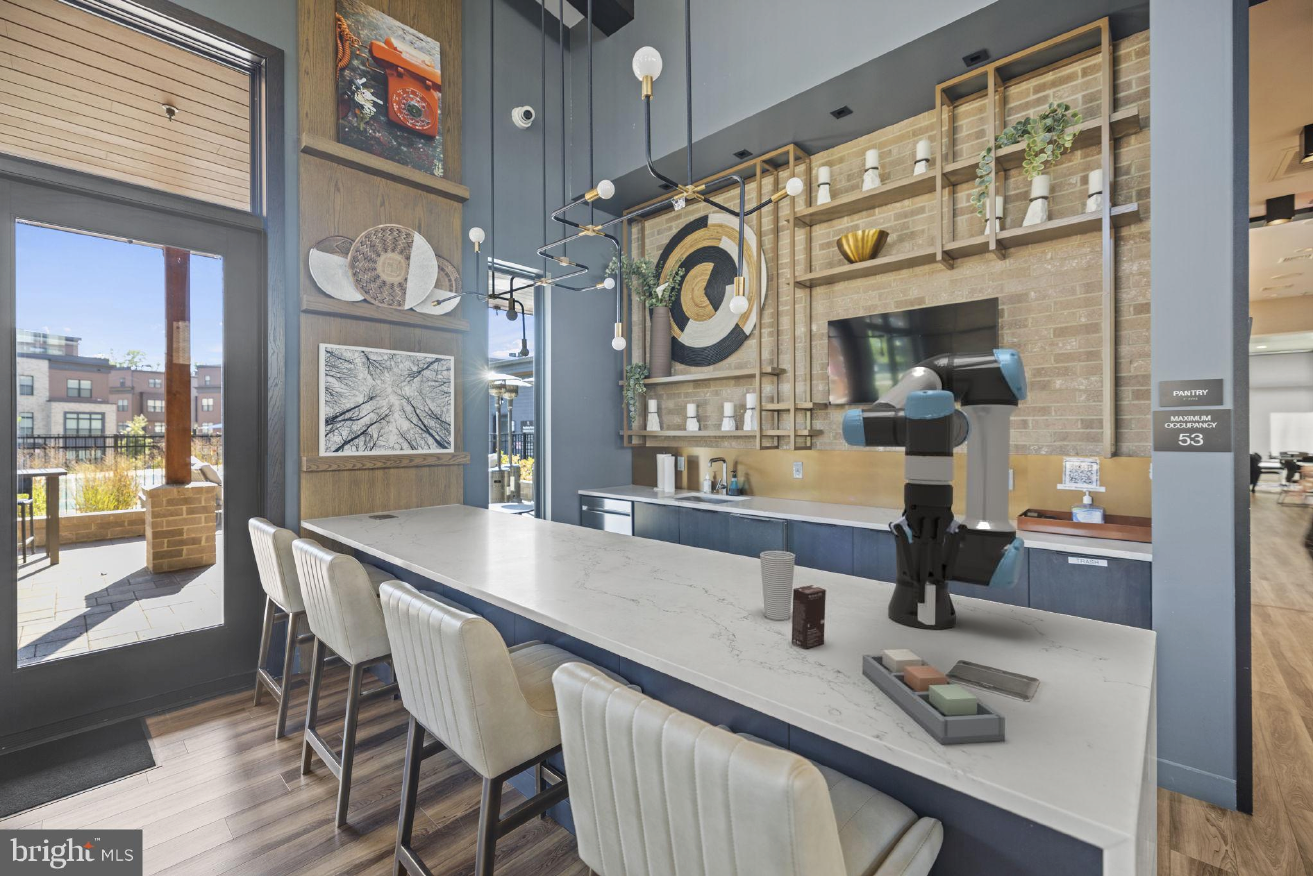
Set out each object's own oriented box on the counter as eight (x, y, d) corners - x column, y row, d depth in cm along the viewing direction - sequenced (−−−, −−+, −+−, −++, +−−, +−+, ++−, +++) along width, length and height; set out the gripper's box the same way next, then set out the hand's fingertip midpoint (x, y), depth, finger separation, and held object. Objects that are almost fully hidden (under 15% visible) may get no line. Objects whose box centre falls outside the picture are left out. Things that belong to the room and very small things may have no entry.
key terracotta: (930, 679, 100) (930, 665, 100) (947, 692, 95) (947, 677, 95) (904, 680, 100) (904, 666, 100) (919, 693, 95) (919, 678, 95)
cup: (799, 615, 144) (799, 553, 144) (787, 624, 137) (788, 559, 137) (767, 609, 149) (767, 549, 149) (754, 618, 142) (754, 555, 142)
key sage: (957, 699, 93) (957, 684, 93) (976, 714, 88) (977, 697, 88) (928, 701, 92) (929, 685, 92) (947, 715, 87) (947, 699, 87)
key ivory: (907, 662, 108) (907, 649, 107) (921, 673, 103) (921, 659, 103) (882, 663, 107) (882, 650, 107) (895, 674, 102) (895, 660, 102)
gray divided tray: (912, 671, 110) (912, 653, 110) (1004, 740, 86) (1004, 717, 85) (862, 673, 109) (862, 655, 109) (941, 744, 84) (941, 720, 84)
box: (807, 650, 121) (807, 593, 121) (791, 643, 125) (791, 588, 125) (826, 644, 124) (826, 588, 124) (810, 638, 128) (810, 584, 128)
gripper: (951, 481, 102) (949, 615, 102) (880, 480, 101) (878, 615, 101) (979, 484, 95) (977, 629, 94) (902, 483, 94) (900, 629, 93)
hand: (926, 622), depth 97 cm, fingers closed
